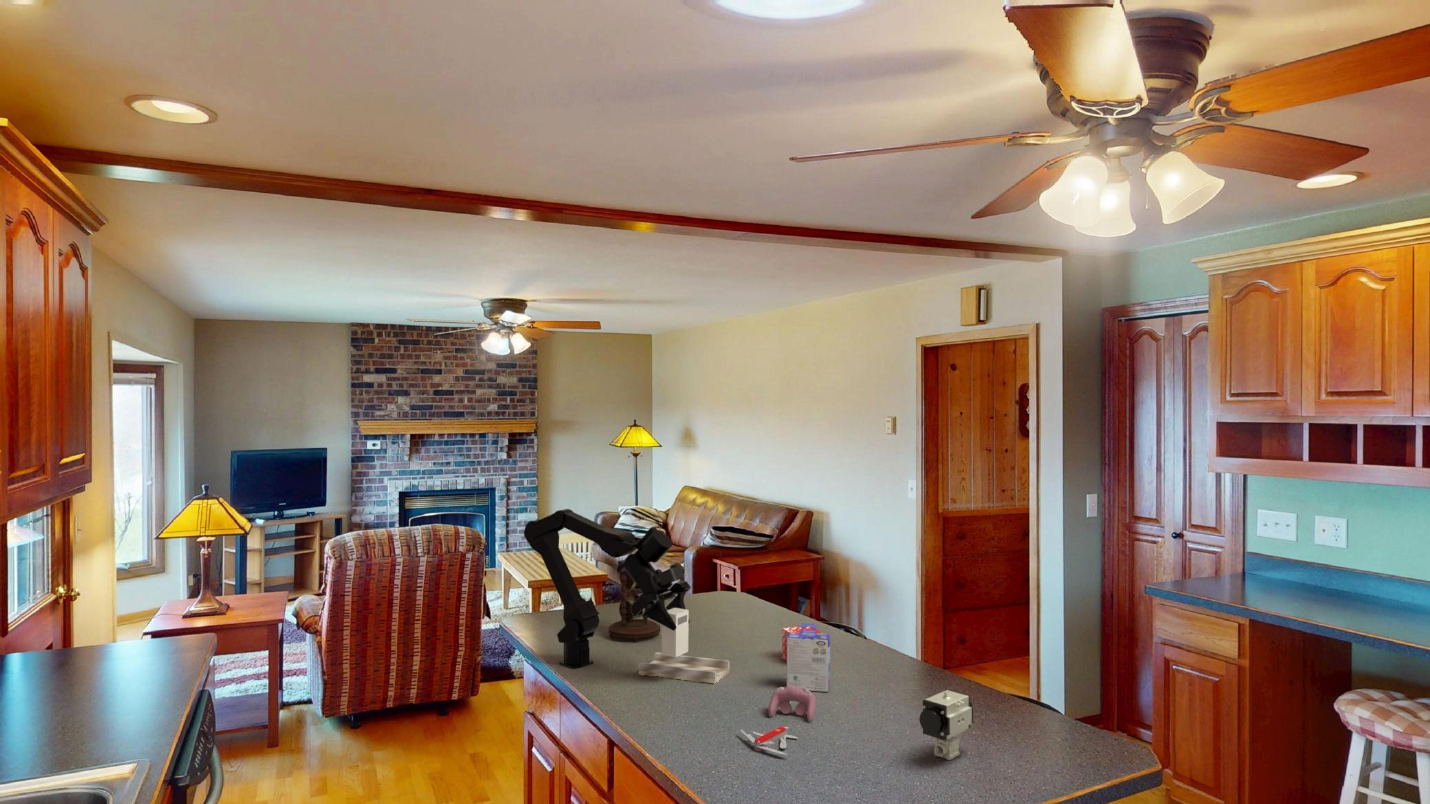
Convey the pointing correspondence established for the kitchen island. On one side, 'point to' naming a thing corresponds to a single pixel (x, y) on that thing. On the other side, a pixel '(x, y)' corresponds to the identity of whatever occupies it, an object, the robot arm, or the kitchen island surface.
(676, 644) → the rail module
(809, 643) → the ink cartridge box
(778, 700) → the video game controller
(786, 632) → the red patterned cube
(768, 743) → the swiss army knife
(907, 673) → the kitchen island surface
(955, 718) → the pneumatic valve
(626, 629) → the wooden figurine
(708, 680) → the mounting rail
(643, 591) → the robot arm
